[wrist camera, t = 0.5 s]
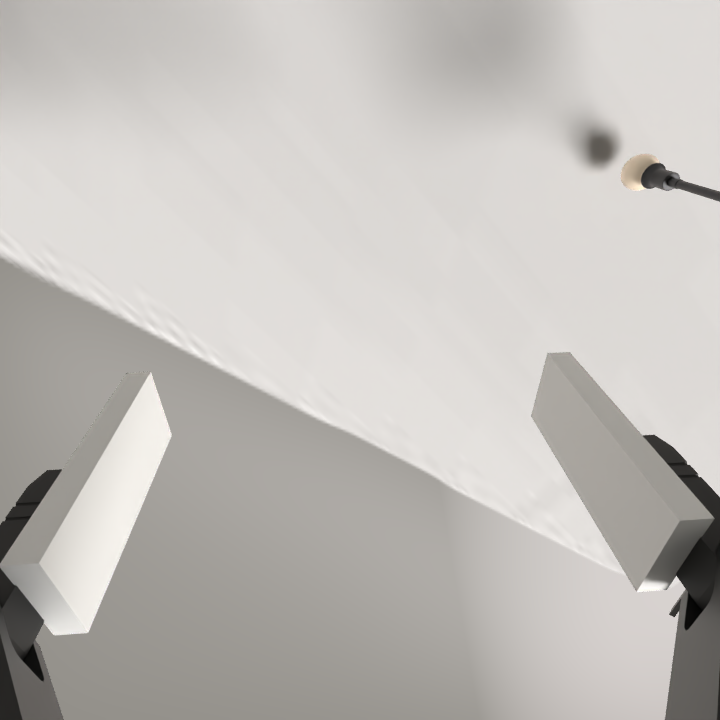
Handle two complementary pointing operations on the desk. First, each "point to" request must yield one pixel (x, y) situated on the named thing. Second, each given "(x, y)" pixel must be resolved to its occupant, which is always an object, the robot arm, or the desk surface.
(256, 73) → the desk surface
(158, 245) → the desk surface
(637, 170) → the light fixture
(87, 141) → the desk surface
